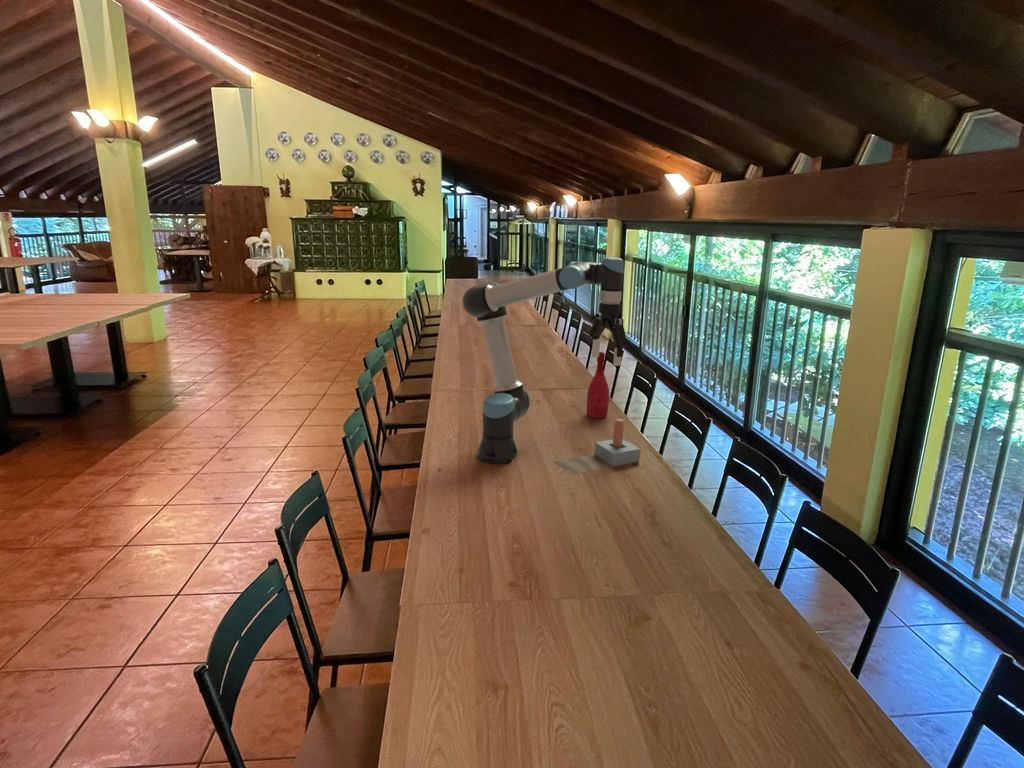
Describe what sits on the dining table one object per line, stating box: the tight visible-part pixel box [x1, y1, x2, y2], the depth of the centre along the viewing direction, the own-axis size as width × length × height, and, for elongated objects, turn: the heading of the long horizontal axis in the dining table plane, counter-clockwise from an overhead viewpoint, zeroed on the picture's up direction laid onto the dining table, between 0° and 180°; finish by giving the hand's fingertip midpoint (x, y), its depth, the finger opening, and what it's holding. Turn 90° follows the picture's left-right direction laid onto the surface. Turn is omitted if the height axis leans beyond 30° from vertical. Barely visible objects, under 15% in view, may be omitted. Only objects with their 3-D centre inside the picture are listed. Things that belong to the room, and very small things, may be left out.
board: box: [554, 454, 640, 475], centre depth 230 cm, size 30×12×1 cm, turn 116°
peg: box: [612, 418, 625, 449], centre depth 231 cm, size 4×4×15 cm
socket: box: [593, 438, 641, 467], centre depth 233 cm, size 12×12×5 cm
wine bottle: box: [586, 351, 610, 419], centre depth 278 cm, size 10×10×30 cm
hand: (605, 361), depth 223 cm, fingers open, 13 cm apart
